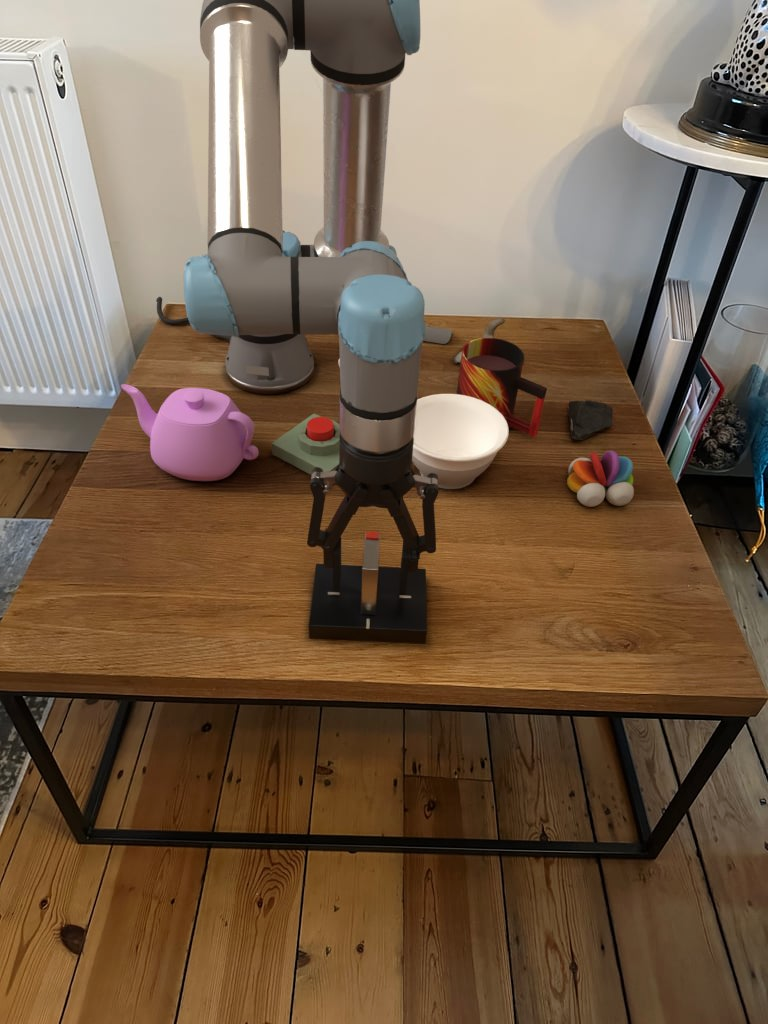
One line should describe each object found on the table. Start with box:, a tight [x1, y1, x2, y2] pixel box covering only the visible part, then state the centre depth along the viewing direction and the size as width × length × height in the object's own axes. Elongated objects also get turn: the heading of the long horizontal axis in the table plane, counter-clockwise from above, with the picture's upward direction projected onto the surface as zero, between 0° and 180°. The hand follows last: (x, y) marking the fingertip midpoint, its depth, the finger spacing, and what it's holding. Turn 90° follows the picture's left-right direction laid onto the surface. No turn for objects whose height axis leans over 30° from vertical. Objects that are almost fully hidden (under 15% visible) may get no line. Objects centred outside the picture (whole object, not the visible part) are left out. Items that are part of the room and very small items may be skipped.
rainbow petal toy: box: [566, 450, 635, 508], centre depth 111 cm, size 8×10×7 cm
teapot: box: [120, 383, 259, 482], centre depth 111 cm, size 20×13×12 cm, turn 78°
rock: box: [567, 399, 614, 441], centre depth 123 cm, size 9×7×5 cm
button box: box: [271, 412, 340, 476], centre depth 116 cm, size 11×10×4 cm
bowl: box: [412, 393, 510, 490], centre depth 113 cm, size 16×16×9 cm
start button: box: [307, 416, 334, 442], centre depth 114 cm, size 4×4×2 cm
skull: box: [453, 317, 506, 364], centre depth 137 cm, size 10×12×6 cm
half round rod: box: [422, 325, 453, 345], centre depth 144 cm, size 4×20×2 cm, turn 77°
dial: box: [361, 531, 381, 615], centre depth 91 cm, size 6×2×8 cm, turn 178°
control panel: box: [308, 563, 428, 644], centre depth 94 cm, size 14×10×3 cm
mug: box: [456, 337, 548, 438], centre depth 122 cm, size 10×14×12 cm
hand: (369, 584), depth 92 cm, fingers open, 7 cm apart
